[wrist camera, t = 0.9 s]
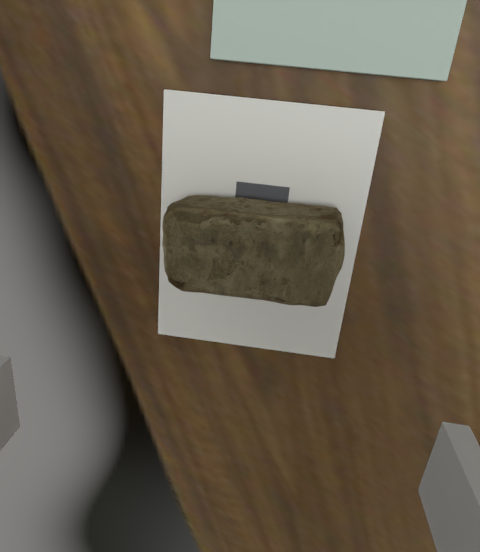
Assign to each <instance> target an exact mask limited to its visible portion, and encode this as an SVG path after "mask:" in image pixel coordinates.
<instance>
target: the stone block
mask: <svg viewBox="0 0 480 552" xmlns="http://www.w3.org/2000/svg"><path fill="white" fill-rule="evenodd" d="M162 246H163V251H164V268H165V272H166V275H167V277H168V281H169V282H170V283H171V284H172V285H173V286H174V287H176V288H177V289H179V290H181V291H184V292H200V293H208V294H214V295H223V296H231V297H240V298H249V299H257V300H266V301H271V302H276V303H281V304H286V305H305V306H312V307H319V306H326V304H327V302H328V300H329V298H330V296H331V293H332V290H333V286H334V283H335V280H336V278H337V276H338V274H339V272H340V270H341V268H342V265H343V261H344V255H345V240H344V230H343V219H342V213H341V212H340V211H339V210H338V209H337V208H335V207H328V206H318V205H306V204H301V203H282V202H270V201H265V200H259V199H248V198H243V197H219V196H206V195H193V196H187V197H185V198H183V199H181V200H179V201H176V202H173V203H171V204H170V205H169V206H168V207H167V211H166V212H165V214H164V217H163V241H162Z"/></svg>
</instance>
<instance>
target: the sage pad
mask: <svg viewBox="0 0 480 552" xmlns="http://www.w3.org/2000/svg"><path fill="white" fill-rule="evenodd" d="M466 2H467V0H214V5H213V21H212V38H211V55H210V58H211V59H213V60H223V61H233V62H243V63H254V64H264V65H275V66H285V67H296V68H306V69H317V70H327V71H338V72H348V73H359V74H369V75H379V76H390V77H400V78H411V79H421V80H432V81H447V79H448V75H449V71H450V67H451V63H452V59H453V55H454V51H455V47H456V43H457V39H458V34H459V30H460V26H461V22H462V18H463V14H464V10H465V6H466Z"/></svg>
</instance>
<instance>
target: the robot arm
mask: <svg viewBox="0 0 480 552" xmlns="http://www.w3.org/2000/svg"><path fill="white" fill-rule="evenodd" d="M19 427H20V423H19V416H18V408H17V401H16V395H15V386H14V379H13V372H12V365H11V358H10V357H4V356H0V450H1V449H2V448H3V447H4V445H5V444H6V443H7V442H8V441H9V439H10V438H11V437H12V436H13V434H14V433H15V432H16V431H17V429H18V428H19ZM418 492H419V495H420V498H421V501H422V505H423V508H424V511H425V514H426V518H427V521H428V524H429V527H430V530H431V534H432V537H433V540H434V543H435V547H436V550H437V552H480V446H479V444H478V442H477V440H476V438H475V436H474V434H473V432H472V430H471V428H470V426H467V425H460V424H453V423H447V422H442V424H441V427H440V430H439V432H438V435H437V438H436V441H435V444H434V446H433V449H432V452H431V455H430V457H429V460H428V463H427V466H426V469H425V471H424V474H423V477H422V480H421V483H420V485H419V488H418Z"/></svg>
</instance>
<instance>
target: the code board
mask: <svg viewBox="0 0 480 552" xmlns="http://www.w3.org/2000/svg"><path fill="white" fill-rule="evenodd" d="M384 115H385V112H384V111H374V110H364V109H354V108H344V107H334V106H324V105H314V104H304V103H295V102H285V101H275V100H265V99H255V98H245V97H235V96H225V95H215V94H205V93H196V92H186V91H176V90H166V89H164V108H163V149H162V189H161V229H160V270H159V310H158V334H163V335H170V336H177V337H185V338H192V339H199V340H206V341H213V342H220V343H227V344H235V345H242V346H249V347H256V348H263V349H270V350H278V351H285V352H292V353H299V354H306V355H313V356H320V357H328V358H335V354H336V349H337V344H338V339H339V334H340V329H341V324H342V319H343V315H344V310H345V305H346V300H347V295H348V290H349V285H350V280H351V276H352V271H353V266H354V261H355V256H356V251H357V246H358V241H359V237H360V232H361V227H362V222H363V217H364V212H365V207H366V202H367V197H368V193H369V188H370V183H371V178H372V173H373V168H374V163H375V158H376V154H377V149H378V144H379V139H380V134H381V129H382V124H383V119H384ZM193 195H206V196H219V197H243V198H248V199H259V200H265V201H270V202H282V203H301V204H306V205H318V206H328V207H335V208H337V209H338V210H339V211H340V212H341V213H342V219H343V230H344V240H345V255H344V261H343V265H342V268H341V270H340V272H339V274H338V276H337V278H336V280H335V283H334V286H333V290H332V293H331V296H330V298H329V300H328V302H327V304H326V306H319V307H312V306H305V305H286V304H281V303H276V302H271V301H266V300H257V299H249V298H240V297H231V296H223V295H214V294H208V293H200V292H184V291H181V290H179V289H177V288H176V287H174V286H173V285H172V284H171V283H170V282H169V281H168V277H167V275H166V272H165V268H164V251H163V246H162V241H163V217H164V214H165V212H166V211H167V207H168V206H169V205H170V204H171V203H173V202H176V201H179V200H181V199H183V198H185V197H187V196H193Z"/></svg>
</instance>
